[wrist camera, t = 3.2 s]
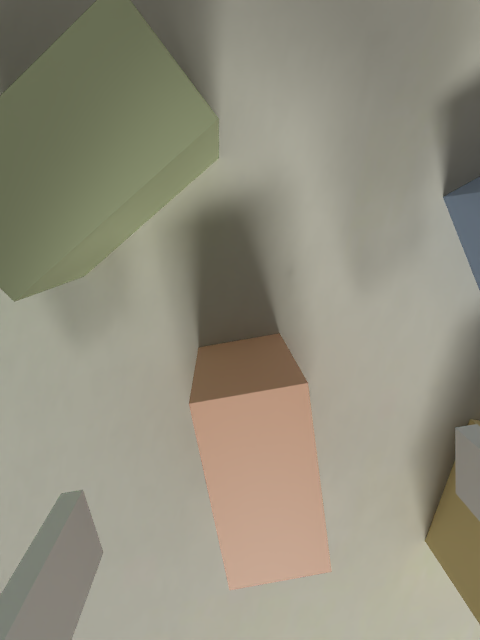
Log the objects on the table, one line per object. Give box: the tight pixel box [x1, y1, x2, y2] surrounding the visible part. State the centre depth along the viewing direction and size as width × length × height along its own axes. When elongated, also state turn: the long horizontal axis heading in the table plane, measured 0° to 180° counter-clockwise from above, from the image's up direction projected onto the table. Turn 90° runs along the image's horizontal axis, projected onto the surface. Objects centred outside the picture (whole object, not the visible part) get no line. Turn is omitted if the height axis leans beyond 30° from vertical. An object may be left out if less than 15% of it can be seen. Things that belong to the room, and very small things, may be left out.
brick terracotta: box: [189, 333, 332, 590], centre depth 16 cm, size 8×4×6 cm, turn 9°
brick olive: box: [0, 0, 219, 302], centre depth 13 cm, size 8×4×6 cm, turn 129°
